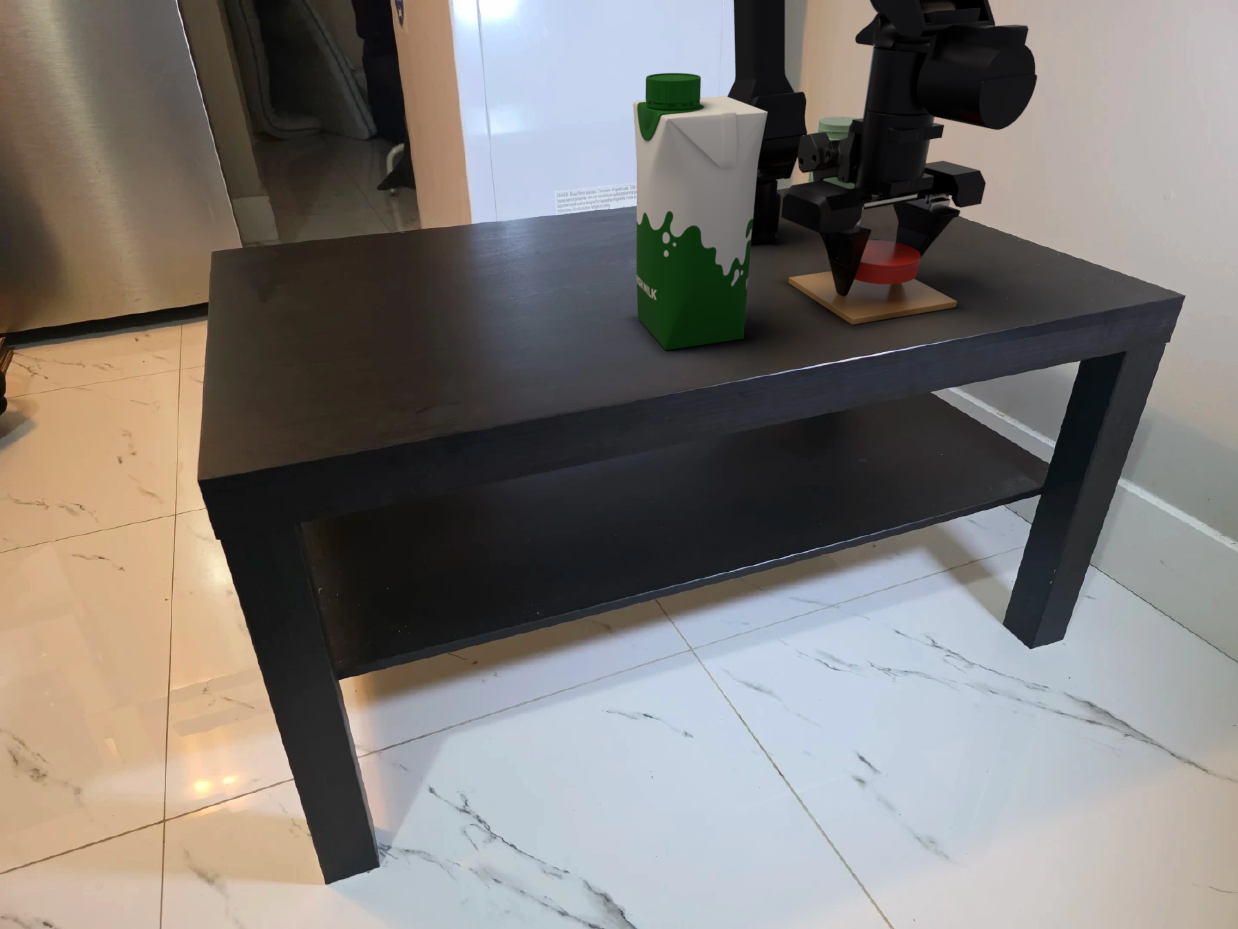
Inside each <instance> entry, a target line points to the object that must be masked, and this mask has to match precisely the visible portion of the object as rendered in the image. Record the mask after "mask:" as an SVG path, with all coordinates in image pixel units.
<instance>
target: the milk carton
mask: <svg viewBox="0 0 1238 929" xmlns="http://www.w3.org/2000/svg"><path fill="white" fill-rule="evenodd" d="M701 84H702V78H701V76H700V75H698V74H695V73H687V72H686V73H684V72H663V73H653V74H649V75H646V77H645V97H644V98H645V99H644V100H642V99H641V100H635V101H633V103H632V108H633V110H632V111H633V124H634V139H635V141H634V142H635V158H636V159H635V160H636V297H637V300H636V301H637V302H636V303H637V319H638V321H640V323H641V324H642V325H643V326H644V328H645V329H646V330H647V331H648V332H649V333H650V334H651V336H652V337H653V338H654V339H655V340H656V341H657V342H658V344H659V345H660V346H661V347H662V348H663V349H664V350H665V351H669V350H676V349H677V350H678V349H683V348H684V349H685V348H689V347H696V346H697V347H698V346H704V345H709V344H715V343H716V344H717V343H724V342H731V341H736V340H742V339H744V338H745V326H746V312H747V298H748V287H749V275H750V273H749V272H750V263H751V262H750V260H751V248H752V243H751V238H752V226H753V214H754V202H755V190H756V178H757V167H758V159H759V154H760V148H761V143H762V138H763V133H764V128H765V123H766V118H767V113H768V112H766V111H764V110H761V109H758V108H756V107H753V106H750V105H748V104H745V103H742V102H740V101H737V100H734V99H732V98H729V97H727V95H722V96H707V97H705V96H703V97H701V87H702V85H701Z"/></svg>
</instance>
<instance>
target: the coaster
mask: <svg viewBox="0 0 1238 929" xmlns="http://www.w3.org/2000/svg"><path fill="white" fill-rule="evenodd" d="M788 284H789V285H790V286H793V287H794V288H795V289H797V290H798V291H800V292H802V293H803V294H805V295H806V296H808V297H809V298H810V299H812V300H814V301H815V302H817V303H818V304H820V305H821V306H823V307H825V308H826V309H827V310H829V311H830V312H832V313H834V314H835V315H836V316H838V317H839V318H841V319H842V320H844V321H845V322H847V323H849V324H850V325H852V326H854V325H859V324H865V323H870V322H878V321H884V320H888V319H894V318H900V317H901V318H902V317H907V316H912V315H918V314H924V313H930V312H936V311H942V310H948V309H953V308H956V307H957V304H958V301H957V300H955V299H953V298H951V297H949V295H948V296H947V295H946V294H944V293H942V292H940V291H938V290H936V289H935V288H933V287H931V286H929V285H927V284H925V283H923V282H921V281H920V280H917V279H915V278H914V279H913V280H911V281H908V282H904V283H899V284H873V283H867V282H862V281H858V280H855V279H854V281H853V284H852V286H851V288H850V290H849V293H848V295H847V296H841V295H839V294H837V292H836V289H835V284H834V280H833V276H832V271H831V270H829V271H822V272H817V273H810V274H809V273H808V274H802V275H795V276H789V277H788Z"/></svg>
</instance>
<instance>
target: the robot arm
mask: <svg viewBox="0 0 1238 929" xmlns="http://www.w3.org/2000/svg"><path fill="white" fill-rule="evenodd" d="M869 3H870V4H871V7H872V9H873V10H874V11H875V12H876V14H875V16H874V17H873V19H872V20H871V21H870V22H869V24H867V25H866V26H865V27H863V28H862V29H861V30H860V31H859V32H857V34H856V35H855V36H854V41H855V43H856V44H857V45H863V46H870V47H872V52H871V60H870V66H869V73H868V81H867V87H866V94H865V101H864V109H863V115H862V118H861V117H860V118H859V119H852V123H851V124H850V126H849V131H848V136H847V138H844V139H840V140H833V141H830V140H829V137H828V135H827V133H826V132H820V133H815V132H812V133H808V130H807V126H806V125H807V124H806V110H807V98H806V94H805V92H804V91H795V90H794V88H793V86H792V84H791V83H790V81H789V79H788V77H787V75H786V0H733V32H734V33H733V34H734V35H733V36H734V68H735V69H734V73H735V74H734V81H733V83H732V86H731V88H730V90H729V91H728V94H727V95H726V97H729V98H732V99H734V100H737V101H740V102H742V103H745V104H748V105H750V106H753V107H756V108H758V109H761V110H764V111H766V112H768V113H767V118H766V123H765V128H764V133H763V138H762V143H761V148H760V154H759V159H758V167H757V178H756V190H755V202H754V214H753V226H752V238H751V244H764V243H766V244H767V243H776V242H778V236H777V235H776V234H775V233H777V232H778V231H779V226H780V218H782V219H784V220H787V221H789V222H792V223H794V224H797V225H799V226H800V227H803V228H806V229H808V230H811V231H813V232H814V233H815V232H816V233H818V234H819V235H820V237H821V239H822V241H823V244H824V247H825V250H826V254H827V257H828V262H829V266H830V271H832V276H833V280H834V284H835V289H836V292H837V294H839V295H841V296H847V295H848V293H849V290H850V288H851V286H852V284H853V281H854V278H855V276H856V273H857V270H858V267H859V264H860V261H861V259H862V256H863V253H864V250H865V247H866V245H867V242H868V240H870V239H869V238H870V236H871V233H872V228H870V227H866V226H864V225H861V224H862V219H863V211H864V210H865V211H866V210H870V209H876V208H881V207H887V206H892V207H893V209H894V213H895V216H896V218H897V230H896V237H895V242H897V243H901V244H905V245H908V246H911V247H913V248H915V249H916V250H918V251H919V252H920V254H921V257H920V260H921V259H922V257H923V256H924V255H925V253H926V252H927V251H928V250H929V248H930V247H931V246H932V244H933V243H934V242H935V241H936V239H937V238H938V237H939V236H940V235H941V233H942V232H943V231H944V230H945V229H946V227H948V225H949V224H950V223H951V222H952V220H954V219H956V218H958V217H960V214H961V210H960V209H962V208H966V207H972V206H977V205H981V204H982V202H983V197H984V193H985V189H986V184H987V182H986V180H985V178H984V175H983V173H982V171H981V170H980V169H977V168H972V167H969V166H966V165H962V164H957V163H954V162H949V161H946V160H939V161H932V162H927V160H928V154H929V150H930V149H929V148H930V144H931V140H937V139H942V138H943V133H944V130H945V124H942V123H937V122H935V118H937V119H942V120H948V121H951V122H952V121H953V122H957V123H961V124H966V125H971V126H975V127H981V128H984V129H990V130H995V131H1000V130H1004V129H1005V128H1008V127H1009V126H1011V125H1012V124H1014V123H1015V122H1016V121H1017V120H1018V119H1019V118H1020V117H1021V116H1022V115H1023V113H1024V111H1025V110H1026V108H1027V107H1028V105H1029V104H1030V101H1031V99H1032V97H1033V95H1034V92H1035V89H1036V85H1037V81H1038V75H1037V74H1036V60H1035V57H1034V54H1033V51H1032V50H1031V49H1030V48H1029V46H1027V45H1026V43H1027V38H1028V35H1029V31H1030V30H1029V26H1028V25H1024V24H1004V25H996V21H995V18H994V15H993V14H994V13H993V11H992V8H991V5H990V1H989V0H869ZM796 163H797V164H798V169H799V171H800V172H801V173H802V174H806V173H809V172H813V182H808V181H807V182H804V183H797V184H796V183H795V184H791V185H790V187H788V189H787V190H786V191H785V192H784V193H783V196H782V194H780V192H778V186H779V185H778V184H779V180H790V179H791V177H792V174H793V172H794V169H795V166H796ZM832 177H836V178H838V181H840V182H843V183H852V184H854V188H852V189H848V188H845V187H842V186H839V185H836V184H833V183H830V182H827V181H824V180H823V179H826V178H832ZM950 197H951V198H950ZM951 201H952V202H953V204H954V206H955V207H957V208H955V207H951V206H950V204H951ZM781 203H782V204H781ZM958 208H960V209H958Z"/></svg>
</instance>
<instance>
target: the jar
mask: <svg viewBox="0 0 1238 929" xmlns="http://www.w3.org/2000/svg"><path fill="white" fill-rule="evenodd" d="M852 119H860V118H858V117H852V116H828V117H822V118H820V119H818V122H817V129H816V131H814V133H820V132H826V133H827V135H828V137H829V140H830V141H833V140H840V139H844V138H847V136H848V131H849V126H850V124H851V123H852ZM823 180H824V181H827V182H830V183H833V184H836V185H839V186H842V187H845V188H848V189H852V188H854V184H852V183H843V182H840V181H838V178H836V177H832V178H826V179H823ZM808 182H813V172H808V181H807V183H808Z"/></svg>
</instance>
